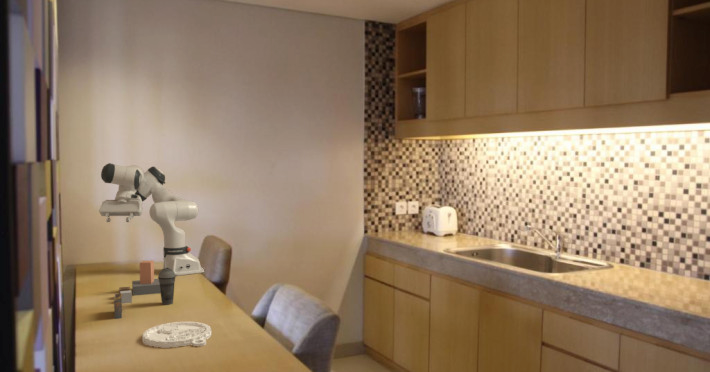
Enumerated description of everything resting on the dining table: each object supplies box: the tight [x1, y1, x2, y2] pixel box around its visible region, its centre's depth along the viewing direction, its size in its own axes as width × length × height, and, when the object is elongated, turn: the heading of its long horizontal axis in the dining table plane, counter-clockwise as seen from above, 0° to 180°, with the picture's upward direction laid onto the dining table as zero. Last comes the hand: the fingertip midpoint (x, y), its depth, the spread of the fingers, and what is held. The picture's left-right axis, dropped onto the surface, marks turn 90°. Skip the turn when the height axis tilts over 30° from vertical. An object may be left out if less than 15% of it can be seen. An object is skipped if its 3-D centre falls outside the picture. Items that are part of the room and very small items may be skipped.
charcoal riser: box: [131, 278, 161, 296], centre depth 268 cm, size 13×13×4 cm
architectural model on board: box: [113, 293, 123, 320], centre depth 229 cm, size 11×3×10 cm, turn 22°
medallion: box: [141, 320, 212, 349], centre depth 201 cm, size 24×27×2 cm
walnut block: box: [118, 286, 131, 294], centre depth 255 cm, size 4×4×4 cm
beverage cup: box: [157, 257, 177, 306], centre depth 245 cm, size 7×7×20 cm
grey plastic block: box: [120, 289, 133, 304], centre depth 248 cm, size 4×4×4 cm
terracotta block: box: [139, 260, 155, 284], centre depth 267 cm, size 5×5×10 cm
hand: (117, 221), depth 279 cm, fingers open, 8 cm apart
